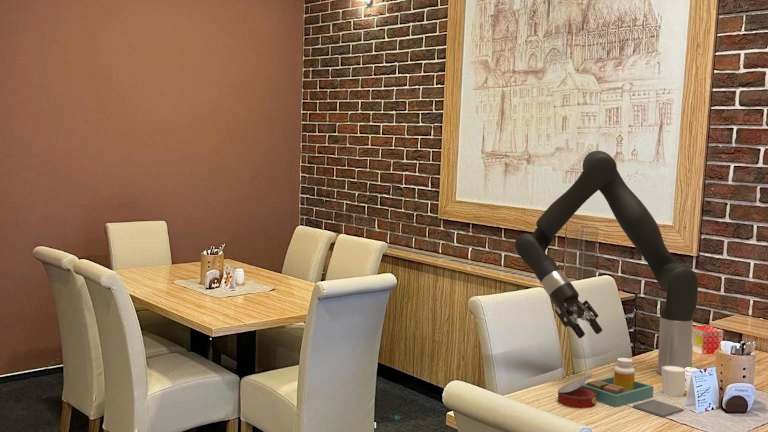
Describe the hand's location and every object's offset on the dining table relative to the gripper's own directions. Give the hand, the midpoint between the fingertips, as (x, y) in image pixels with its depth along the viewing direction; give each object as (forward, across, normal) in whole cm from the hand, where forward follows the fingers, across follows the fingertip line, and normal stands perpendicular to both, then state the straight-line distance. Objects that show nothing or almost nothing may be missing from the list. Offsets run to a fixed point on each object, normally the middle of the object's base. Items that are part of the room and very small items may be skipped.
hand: (591, 334), depth 214 cm
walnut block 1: (+16, -8, +5) cm, 18 cm away
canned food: (+16, -16, +6) cm, 23 cm away
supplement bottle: (+18, 0, +3) cm, 18 cm away
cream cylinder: (+24, +12, -3) cm, 27 cm away
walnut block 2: (+19, -8, +1) cm, 21 cm away
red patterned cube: (+12, +66, +9) cm, 68 cm away
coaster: (+27, -4, -6) cm, 28 cm away
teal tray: (+18, -3, +3) cm, 18 cm away
